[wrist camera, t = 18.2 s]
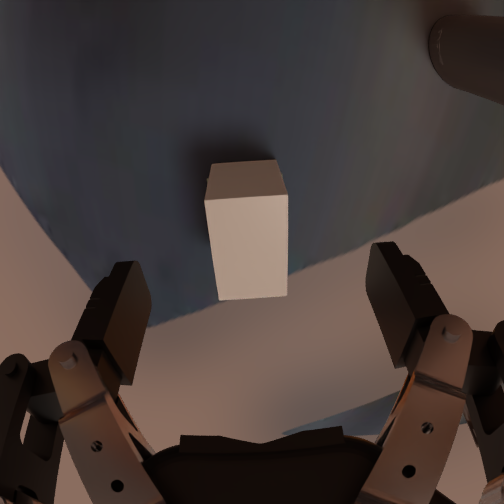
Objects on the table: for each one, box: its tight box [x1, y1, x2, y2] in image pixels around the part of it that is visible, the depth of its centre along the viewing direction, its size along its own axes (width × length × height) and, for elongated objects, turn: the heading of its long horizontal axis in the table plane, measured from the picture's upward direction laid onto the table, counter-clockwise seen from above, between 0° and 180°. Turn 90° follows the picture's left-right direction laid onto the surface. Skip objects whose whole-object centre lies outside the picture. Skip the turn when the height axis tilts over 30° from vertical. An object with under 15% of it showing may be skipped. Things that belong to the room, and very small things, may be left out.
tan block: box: [204, 160, 288, 300], centre depth 32 cm, size 7×11×9 cm, turn 3°
